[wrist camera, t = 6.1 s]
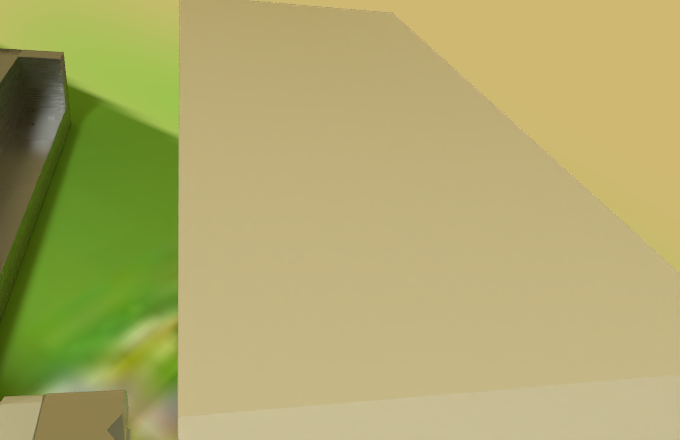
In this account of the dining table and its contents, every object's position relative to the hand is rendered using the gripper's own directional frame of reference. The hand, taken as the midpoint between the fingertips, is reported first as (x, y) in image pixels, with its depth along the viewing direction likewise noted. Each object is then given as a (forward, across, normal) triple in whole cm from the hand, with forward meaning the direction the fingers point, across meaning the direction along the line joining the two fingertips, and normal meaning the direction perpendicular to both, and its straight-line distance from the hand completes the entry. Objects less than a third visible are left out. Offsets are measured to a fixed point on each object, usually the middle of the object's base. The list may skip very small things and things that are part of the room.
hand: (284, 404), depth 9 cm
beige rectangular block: (-1, 0, +7) cm, 7 cm away
